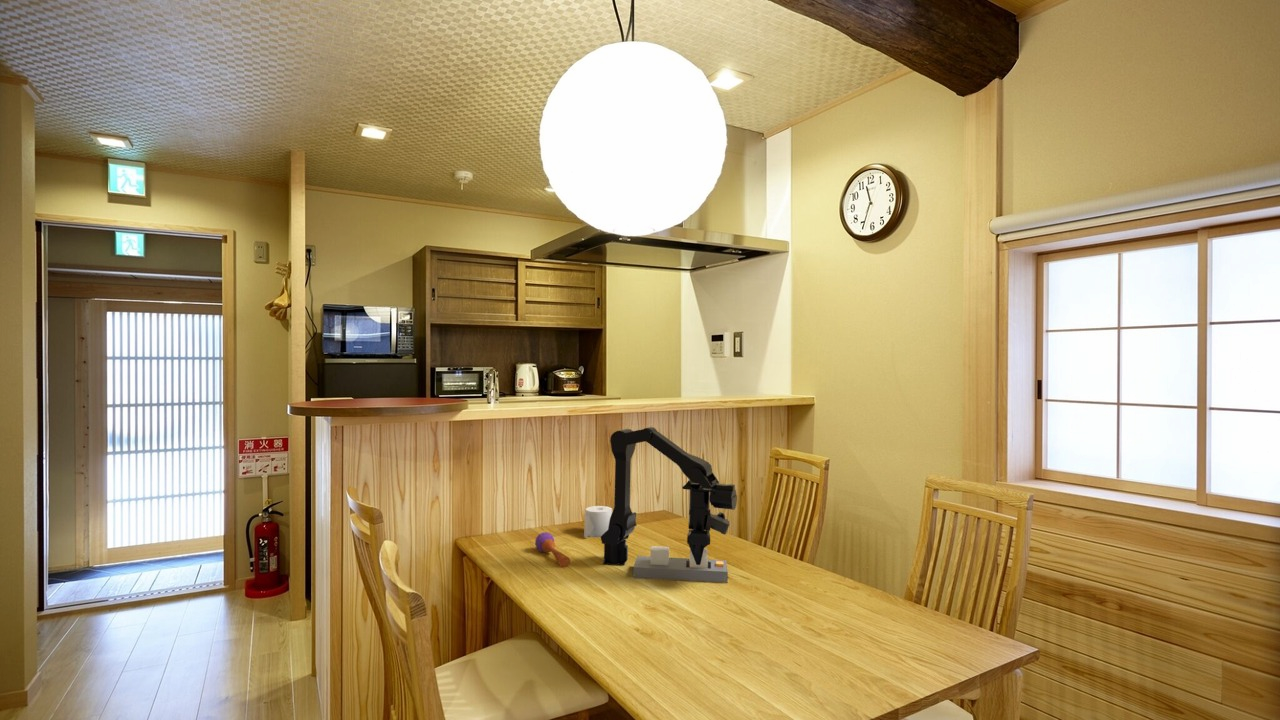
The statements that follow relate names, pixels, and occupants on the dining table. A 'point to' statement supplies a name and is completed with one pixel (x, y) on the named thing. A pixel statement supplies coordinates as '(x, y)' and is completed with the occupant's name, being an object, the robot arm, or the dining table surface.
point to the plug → (703, 561)
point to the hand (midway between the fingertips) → (698, 560)
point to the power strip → (677, 568)
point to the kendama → (550, 548)
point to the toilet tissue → (596, 520)
